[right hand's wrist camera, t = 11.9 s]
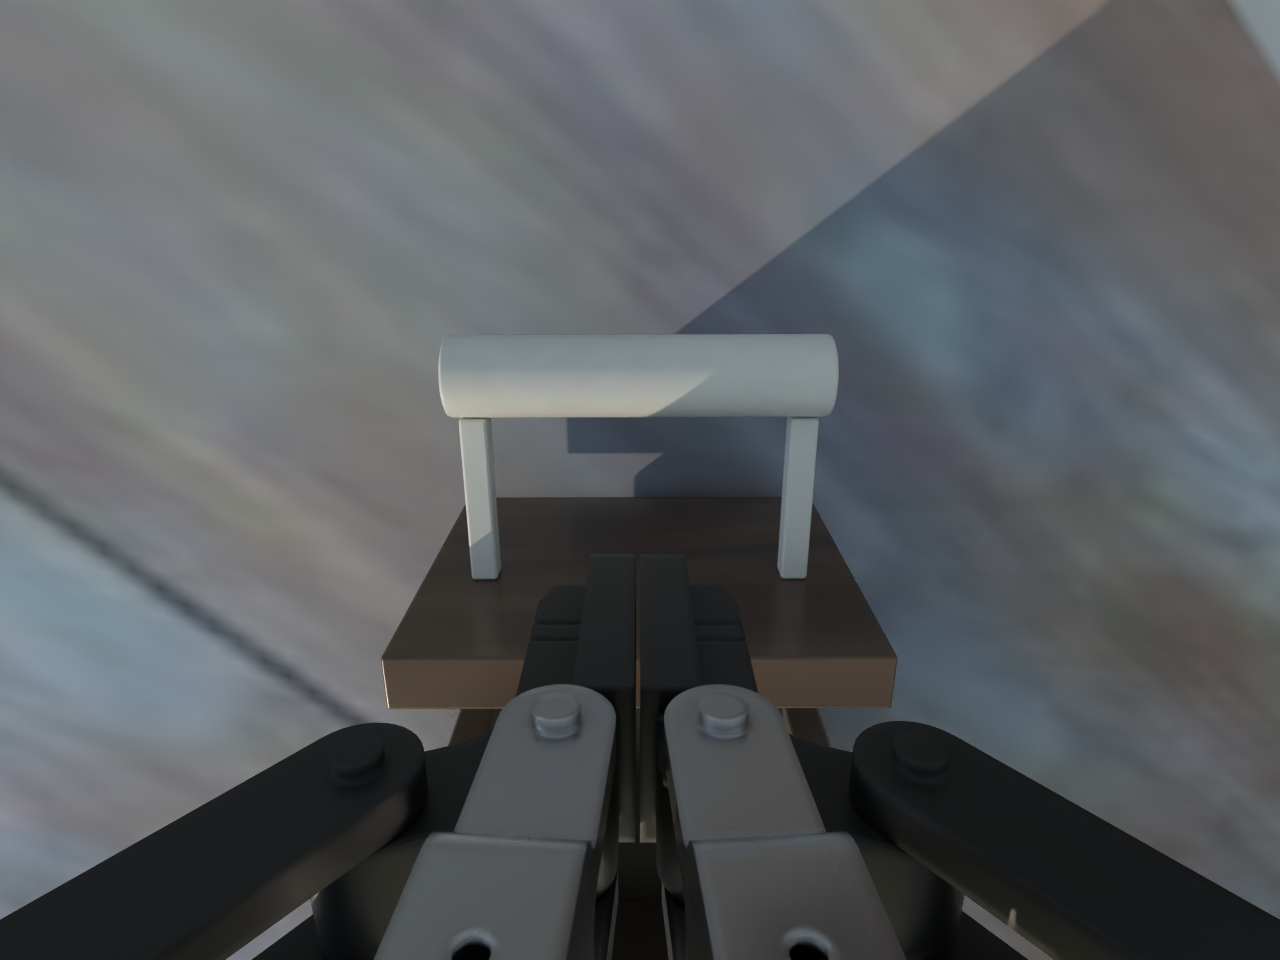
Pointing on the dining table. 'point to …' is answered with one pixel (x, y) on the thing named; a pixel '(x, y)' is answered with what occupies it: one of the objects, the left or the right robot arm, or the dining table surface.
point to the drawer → (639, 543)
